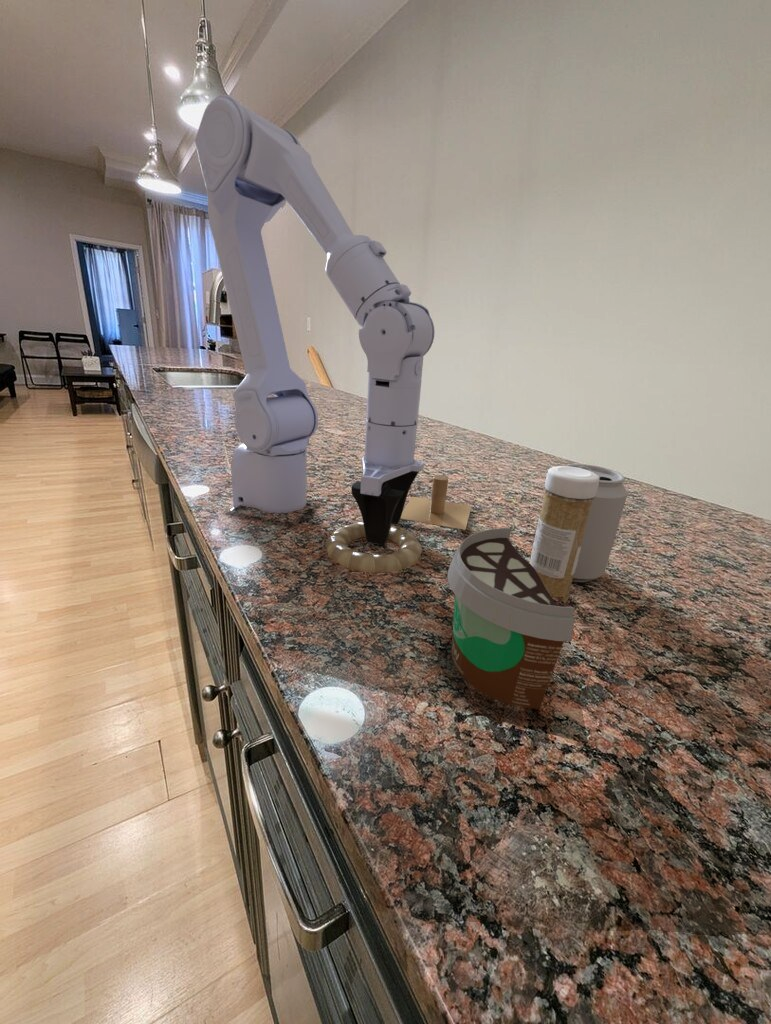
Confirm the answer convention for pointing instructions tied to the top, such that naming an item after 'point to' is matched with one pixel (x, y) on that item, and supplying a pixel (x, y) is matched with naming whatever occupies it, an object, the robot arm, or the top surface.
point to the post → (437, 508)
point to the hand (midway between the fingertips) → (383, 531)
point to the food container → (504, 621)
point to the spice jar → (562, 526)
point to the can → (600, 523)
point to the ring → (373, 563)
